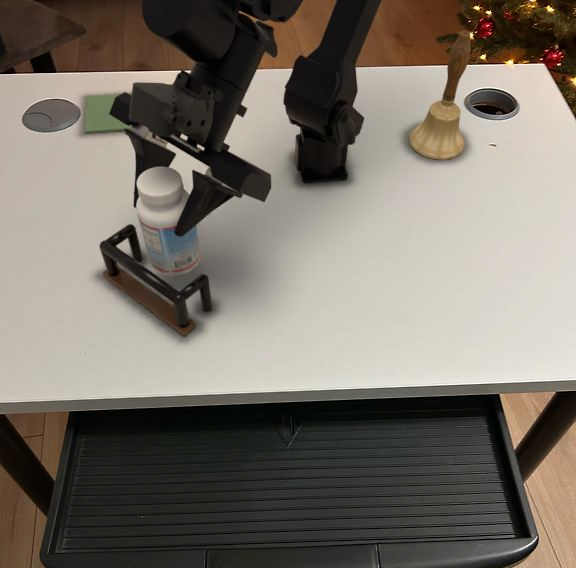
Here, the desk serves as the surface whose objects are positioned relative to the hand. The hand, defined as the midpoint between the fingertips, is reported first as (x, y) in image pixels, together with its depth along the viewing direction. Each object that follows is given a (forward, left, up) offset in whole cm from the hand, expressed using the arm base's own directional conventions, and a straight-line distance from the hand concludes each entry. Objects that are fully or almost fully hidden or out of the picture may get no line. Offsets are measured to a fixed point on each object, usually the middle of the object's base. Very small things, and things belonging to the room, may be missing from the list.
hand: (157, 221), depth 65 cm
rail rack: (+1, +1, -10) cm, 10 cm away
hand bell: (-40, -24, -10) cm, 48 cm away
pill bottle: (-1, -1, -7) cm, 7 cm away
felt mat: (+7, -36, -10) cm, 38 cm away
